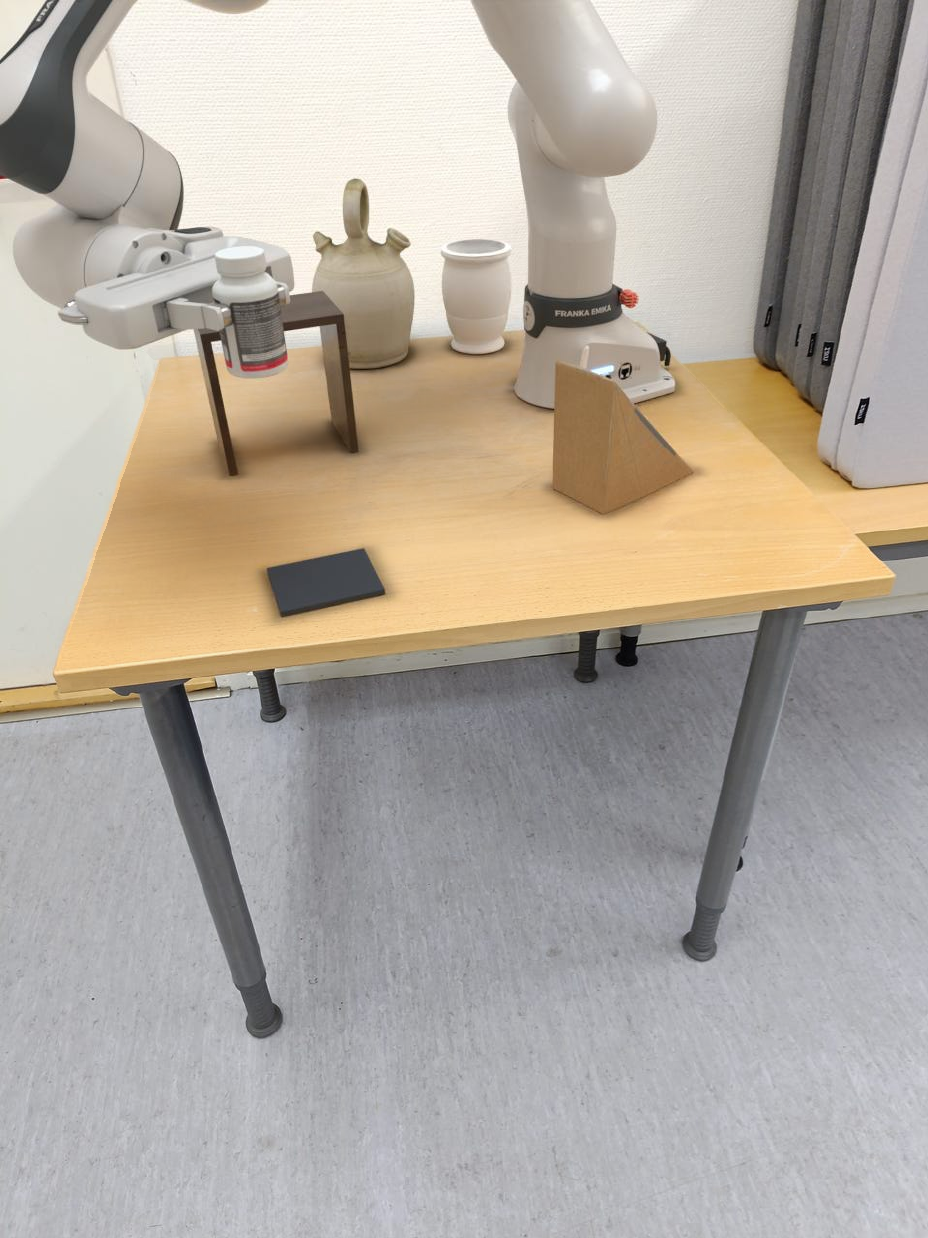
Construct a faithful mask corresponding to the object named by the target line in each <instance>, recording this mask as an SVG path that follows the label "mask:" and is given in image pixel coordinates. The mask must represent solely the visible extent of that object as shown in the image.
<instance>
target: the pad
mask: <svg viewBox="0 0 928 1238" xmlns="http://www.w3.org/2000/svg"><path fill="white" fill-rule="evenodd" d="M266 572H267V576H268V578H269V579H268V580H269V582H270V585H271V589H272V591H273V595H274V598H275V602H276V604H277V608H278V610H279V614H280V617H282V618H283V617H287V616H288V617H289V616H291V615H297V614H300V613H305V612H310V611H314V610H319V609H325V608H328V607H332V606H336V605H337V606H338V605H342V604H346V603H350V602H354V601H359V600H363V599H369V598H372V597H378V596H383V595H385V594H386V589H385V587H384V585H383V583H382V581H381V579H380V577H379V574H378V573H377V571H376V569H375V567H374V565H373V563H372V561H371V559H370V557H369V555H368V553H367V551H366V549H365V547H362V548H357V549H352V550H348V551H343V552H338V553H333V554H328V555H323V556H317V557H313V558H309V559H304V560H298V561H295V562H289V563H285V564H284V563H283V564H280V565H275V566H270V567H266Z"/></svg>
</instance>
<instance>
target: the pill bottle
mask: <svg viewBox="0 0 928 1238" xmlns="http://www.w3.org/2000/svg"><path fill="white" fill-rule="evenodd" d="M215 261H216V268H217V272H218V274H220V275H221V278H220V279H219V280H217V281H216V282H215V283H214V285H213V288H212V294H213V300H214V302H219V303H221V304H227V305H228V306H229V307H230V309H231V317H232V319H233V324H232V325H231V326H229V327H226V328H224V329H222V330H219V332H220V337H221V341H220V342H221V347H222V352H223V357H224V361H225V368H226V370H227V372H228V373H229V374H230V375H232V376H233V377H235V378H239V379H249V380H253V379H263V378H264V379H265V378H271V377H273V376H277V375H279V374H281V373H282V372H284V371H285V370H286V369H287V368H288V366H289V357H288V349H287V342H286V335H285V331H284V328H283V321H282V314H281V307H280V299H279V292H278V287H277V283H276V282H275V280H274V279H273V278H272V277H270V276H268V275H265V273H264V271H265V270H266V265H267V263H266V259H265V253H264V250H263V249H262V248H259V247H254V246H239V247H231V248H226V249H222V250H220V251H218V252H216V253H215Z"/></svg>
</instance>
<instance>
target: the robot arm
mask: <svg viewBox="0 0 928 1238" xmlns="http://www.w3.org/2000/svg"><path fill="white" fill-rule="evenodd" d="M138 1H139V0H45V2H43V4H42V6H41V7H40V9H39V10H38V12H37V13H36V14H35V16H34V18H33V19H32V21H31V22H30V23H29V25H28V27H27V28H26V30H25V31H24V32H23V33H22V35H21V37H20V38H18V40H17V41H16V42H15V44H14V45H12V47H11V48H10V49H9V50H8V51H7V52H6V53H5V54H4V55H3V56H2V57H1V58H0V176H1V177H4V178H5V179H7V180H9V181H12V182H14V183H16V184H18V185H20V186H22V187H24V188H26V189H29V190H31V191H33V192H35V193H37V194H41V195H43V196H45V197H47V198H48V199H50V200H52V201H53V202H54V203H56V204H54V205H53V207H51V208H50V209H49V210H47V211H46V212H45V213H42V214H40V215H37V216H36V217H32V218H29V219H28V220H26V221H24V222H23V223H22V224H21V225H20V226H19V227H18V228H17V230H16V232H15V234H14V237H13V241H12V255H13V260H14V264H15V266H16V269H17V272H18V273H19V275H20V277H21V278H22V280H23V281H24V283H25V284H26V286H27V287H28V288H29V289H30V290H31V291H32V292H33V293H34V294H35V295H37V296H38V297H39V298H41V299H42V300H44V301H45V302H47V303H48V304H49V305H52V306H54V307H57V308H59V309H58V310H57V315H58V318H59V319H60V321H62V322H63V323H67V324H71V325H76V326H82V330H83V332H84V334H85V335H86V336H88V337H89V338H91V339H92V340H94V341H97V342H98V343H100V344H103V345H105V346H108V347H111V348H113V349H116V350H136V349H139V348H142V347H144V346H147V345H149V344H152V343H155V342H157V341H160V340H163V339H166V338H168V337H171V336H174V335H176V334H179V333H181V332H185V331H190V330H194V329H204V328H208V329H212V330H216V331H219V330H222V329H224V328H226V327H229V326H231V325H232V324H233V319H232V317H231V309H230V307H229V306H228V305H227V304H221V303H219V302H214V300H213V294H212V288H213V285H214V283H215V282H216V281H217V280H219V279H220V278H221V275H220V274H218V272H217V268H216V261H215V253H216V252H218V251H220V250H222V249H226V248H231V247H239V246H254V247H259V248H262V249H263V250H264V253H265V259H266V263H267V265H266V270H265V271H264V273H265V275H268V276H270V277H272V278H273V279H274V280H275V282H276V283H277V287H278V292H279V299H280V307H282V306H284V305H287V304H289V303H290V295H291V293H290V292H292V291H294V289H295V275H294V267H293V262H292V257H291V255H290V253H289V252H288V251H289V250H287V249H286V248H284V247H282V246H279V245H276V244H272V243H269V242H265V241H261V240H256V239H252V238H247V237H242V236H231V235H228V236H227V235H224V233H223V230H222V228H219V227H215V226H196V227H188V228H179V226H180V222H181V219H182V216H183V215H182V214H183V209H184V200H185V199H184V197H185V188H184V180H183V179H184V178H183V175H182V174H183V173H182V171H181V168H180V165H179V163H178V161H177V158H176V157H175V155H173V153H172V152H170V151H169V150H167V149H166V148H165V147H164V146H163V145H162V144H160V143H159V142H157V141H156V140H155V139H154V138H152V137H151V136H149V135H148V134H147V133H146V132H144V131H143V130H142V129H140V128H139V127H138V126H136V125H135V124H133V123H132V122H130V121H129V120H127V119H125V118H124V117H123V116H122V115H120V114H119V113H117V112H116V111H115V110H114V109H112V108H111V107H110V106H109V105H107V104H105V103H104V102H103V101H102V100H100V99H99V98H98V97H97V96H95V95H94V94H92V92H90V91H89V88H88V85H87V84H88V83H87V78H88V75H89V72H90V70H91V69H92V68H93V66H94V64H95V63H96V61H97V60H98V59H99V57H100V55H101V54H102V53H103V51H104V50H105V48H106V46H108V44H109V42H110V41H111V39H112V37H113V36H114V35H115V33H116V32H117V30H118V29H119V27H120V26H121V24H122V23H123V21H124V20H125V19H126V17H127V15H128V14H129V12H130V11H131V9H132V8H133V6H134V5H135V4H137V2H138ZM183 1H184V2H187V3H189V4H192V5H194V6H197V7H200V8H202V9H206V10H209V11H213V12H216V13H220V14H227V15H240V14H247V13H250V12H253V11H256V10H258V9H260V8H261V7H263V6H265V5H266V4H268V3H269V2H270V0H183ZM469 2H470V3H471V5H472V7H473V10H474V12H475V15H476V16H477V18H478V20H479V23H480V25H481V27H482V29H483V31H484V33H485V36H486V38H487V41H488V43H489V45H490V46H491V47H492V49H493V50H494V52H495V53H496V54H497V56H499V57H500V58H501V59H502V61H503V62H504V65H506V66H507V68H508V69H509V71H510V73H511V74H512V75H513V77H514V78H515V80H516V81H515V83H514V84H513V86H512V88H511V91H510V93H509V97H508V101H507V102H508V103H507V119H508V120H507V121H508V125H509V127H510V130H511V132H512V135H513V137H514V140H515V144H516V148H517V149H516V150H517V155H518V156H517V157H518V162H519V163H518V164H519V171H520V176H521V182H522V183H521V184H522V188H523V194H524V202H525V208H526V217H527V218H526V219H527V283H526V285H525V286H524V290H523V291H524V293H523V305H522V306H523V308H522V320H523V321H522V322H523V329H524V340H523V341H524V342H523V348H522V355H521V359H520V365H519V370H518V375H517V377H516V381H515V384H514V387H513V391H514V393H515V395H516V396H517V397H518V398H520V399H521V400H523V401H524V402H527V403H529V404H531V405H534V406H538V407H542V408H546V409H553V410H554V401H555V365H556V362H557V361H558V360H559V361H563V362H566V363H569V364H572V365H575V366H579V367H582V368H585V369H588V370H590V371H593V372H595V373H597V374H600V375H602V376H605V377H607V378H609V379H612V380H614V381H615V382H616V383H617V384H618V386H619V387H620V388H621V389H622V390H623V392H624V393H625V394H626V395H627V396H628V398H629V399H630V400H631V401H632V402H633V404H634V405H635V404H637V403H640V402H644V401H648V400H652V399H654V398H658V397H661V396H664V395H669V394H672V393H674V392H675V391H676V381H675V378H674V377H673V375H672V374H671V373H670V372H669V371H667V370H666V368H664V367H669V366H670V365H671V357H672V353H671V350H670V348H669V347H668V346H667V344H668V343H667V342H668V341H667V340H665V339H663V338H661V337H659V336H657V335H655V334H652V333H650V332H648V331H647V330H645V329H644V328H642V327H641V326H640V325H639V324H637V323H636V322H635V321H634V320H633V319H632V318H630V317H629V316H628V315H627V314H625V313H624V312H623V307H622V305H623V306H625V307H626V308H628V309H633V308H635V307H636V306H637V304H638V303H639V295H638V293H637V292H635V291H632V290H631V289H627V288H626V289H623V288H621V287H619V285H616V284H614V283H613V281H614V266H615V253H616V252H615V251H616V239H617V221H616V216H615V213H614V211H613V209H612V206H611V204H610V200H609V196H608V191H607V186H606V178H610V177H616V176H621V175H624V174H627V173H629V172H630V171H632V170H634V169H635V168H636V167H637V166H638V165H639V164H641V162H642V161H643V160H644V159H645V158H646V156H647V155H648V154H649V152H650V150H651V147H652V146H653V143H654V140H655V137H656V134H657V128H658V111H657V110H658V109H657V106H656V103H655V102H656V101H655V99H654V97H653V95H652V93H651V92H650V90H649V89H648V87H647V86H646V85H644V83H643V82H642V81H641V79H639V77H637V75H636V74H635V73H634V72H633V71H632V69H631V67H630V66H629V65H628V63H627V61H626V59H625V58H624V56H623V55H622V53H621V51H620V49H619V47H618V46H617V43H616V42H615V40H614V38H613V36H612V35H611V33H610V32H609V30H608V28H607V26H606V25H605V23H604V22H603V20H602V18H601V17H600V15H599V13H598V12H597V10H596V7H595V6H594V4H593V2H592V1H591V0H469ZM661 362H664V367H663V366H661Z"/></svg>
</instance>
